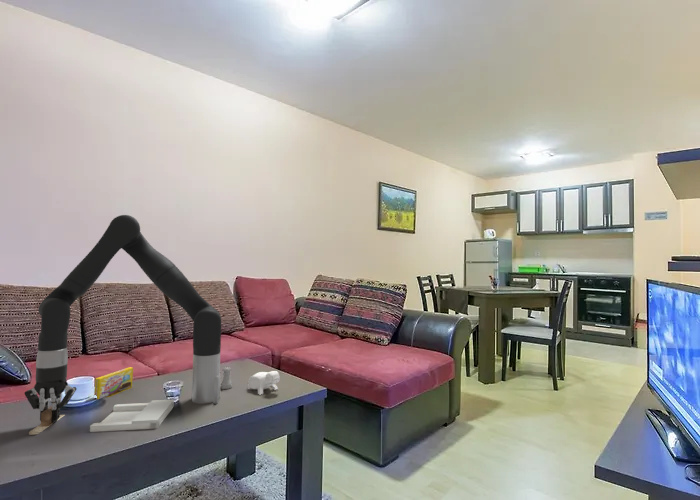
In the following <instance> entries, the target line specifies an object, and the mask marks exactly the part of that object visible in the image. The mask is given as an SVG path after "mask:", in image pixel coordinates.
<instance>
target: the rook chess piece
mask: <svg viewBox="0 0 700 500" xmlns="http://www.w3.org/2000/svg"><path fill="white" fill-rule="evenodd" d="M231 371H232V369H231V367H230V366H228V367H227V366H223V369H222V372H223V373H222V375H223V378H222V380H221V387H220V390H221V389H222V390H229V388H230V389H231V388H232V387H233V385H232V384H233V383H232V381H231Z"/></svg>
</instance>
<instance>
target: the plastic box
mask: <svg viewBox="0 0 700 500" xmlns="http://www.w3.org/2000/svg"><path fill="white" fill-rule="evenodd" d="M174 407H175V399H157V400H156V399H154V400H153V399H152V400H150V401H149V402H142V403H138V402H137V403H120V404H119V403H117V404H114V406H113V410H112V412H111V413H109V415H107V416H106V417H105V418H104V419H103V420H101V422H93V423H92V424H90V425H89V432H91V433H95V432H113V431H127V430H128V431H133V430H149V429H150V430H151V429H152V430H153V429H158V428H159V427H160V426H161V424H162V423H163V421H164V420H165V419H166V417H167V416H168V415H169V414H170V412H171V411H172V410H173V408H174Z"/></svg>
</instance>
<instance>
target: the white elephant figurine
mask: <svg viewBox="0 0 700 500" xmlns="http://www.w3.org/2000/svg"><path fill="white" fill-rule="evenodd" d="M280 379H281V377H280V373H279V371H277V370H271V371H269V372H266V371H259V372H256V373H254V374H253V375H251V376H250V377H249V379H248V381H247V385H248V387H247V388H248V390H257V395H258V394H259V395H258V396H262V395H264V390H268V389H269V388H270V389H272V390H273V389H274V391H275V390H276V389H278V390H279V387H278V386H277V384H278V383H279V382H280ZM250 388H251V389H250ZM276 391H277V390H276ZM261 394H262V395H261Z"/></svg>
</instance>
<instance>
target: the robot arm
mask: <svg viewBox="0 0 700 500" xmlns="http://www.w3.org/2000/svg"><path fill="white" fill-rule="evenodd" d="M121 249H122V250H123V251H124V252H125V253H126V254H128V256H130V257H131V258H132V259H133V260H134V261H135V262H136V264H137V265H138V266H139V267H140V269H141V270H142V272H143V273H144V274H145V275H146V277H148V278H149V279H150V281H151V282H152V283H153V284H154V286H156V287H157V288H158V289H159V290H160V292H162V293H163V294H164V295H165V296H166V297H167V298H169V299H170V300H172V301H173V302H174V303H176V304H177V305H179V306H180V307H181V308H182V309H183V310H184V311H185V312H186V313H187V315H188V316H189V317H190V319H191V320H192V321H193V324H192V325H193V326H192V327H193V329H192V331H193V333H192V377H191V378H192V379H191V380H192V381H191V402H192V403H194V404H199V405H200V404H201V405H202V404H203V405H204V404H210V403H212V405H215V404H216V405H217V404H218V403H219V401H220V399H221V383H222V380H221V379H222V377H221V376H222V372H221V349H222V348H221V346H222V340H221V339H222V316H221V313H220V312H219V311H218V309H217V308H215V307H213V306H212V304H210V303H209V302H208V301H207V300H206V299H204V298H203V297H202V296H201V295H200V294H199V293H198V291H197V290H196V288H195V287H194V285H192V283H191V282H190V280H189V279H188V278H187V277H186V276H185V275H184V273H183V272H182V271H181V270H180V269H179V268H178V267H177V266H176V264H175V263H174V262H173V261H171V260H170V259H169V258H168V257H166V256H165V255H163V254H162V253H161V252H159V251H158V250H156V249H155V247H153V246H152V245H151V243H149V242H148V240H147V239H146V238H145V237H144V235H143V234H142V232H141V226H140V223H139V221H138V220H137V219H136V218H135V217H133V216H132V215H128V214H122V215H118V216H116V217H113V219H112V220H111V221H110V222H109V224H108V227H107V229H105V232H104V233H103V235H102V236H101V237H100V239H99V240H98V242H96V244H95V245H94V246H93V248H91V250H90V251H89V252H88V253H87V255H86V256H84V258H83V259H82V260H80V262H79V263H78V264H77V265H76V266H75V267H74V268H73V269H72V271H71V272H70V273H69V274H68V275H67V276H66V278H64V279H63V281H62V282H61V283H60V284H59V285H58V286H57V287H56V288H55V289H53V290H52V291H51V292H50V293H49V294H48V295H46V297H45V298H44V299H43V300H42V301H41V302H40V304H39V306H38V314H39V316H40V317H41V323H40V324H41V327H40V333H39V334H38V341H37V354H36V361H35V384H34V386H33V388H30V389H27V390H26V391H25V392H24V396H25V398H26V399H27V401H28V403H29V404H30V406H31V407H32V409H33V410H39V411H40V412H39V421H40V422H41V413H42V412H43V411H45V410H47V409H48V408H49V406H50V403H51V406H52V419H51V422H52V423H53V424H54V422H55V423H57V421H59V420H60V419H59V417H60V415H61V414H60V413H61V408H63V407H65V406H66V405H68V403H69V402H70V401H71V398H72V397H73V395H74V394H75V393H76V391H77V387H76V386H74V387H71V386H70V385H69V383H68V382H67V378H68V361H69V359H68V356H69V355H68V354H69V353H68V330H69V325H70V321H71V306H72V305H73V304H74V303H75V301H77V299H79V298H80V297H82V296H84V295H85V294H86V293H87V291H88V290H89V289H90V288H91V287H92V286H93V284H94V283H96V282H97V280H98V279H99V278H100V277H101V275H102V273H104V271H105V269H106V268H107V266H108V265H109V263H110V262H111V261H112V259H113V258H114V257H115V256H116V254H117V253H118V252H120V250H121ZM63 392H64V394H65V395H64V397H63V398H62V394H63ZM58 419H59V420H58Z"/></svg>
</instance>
